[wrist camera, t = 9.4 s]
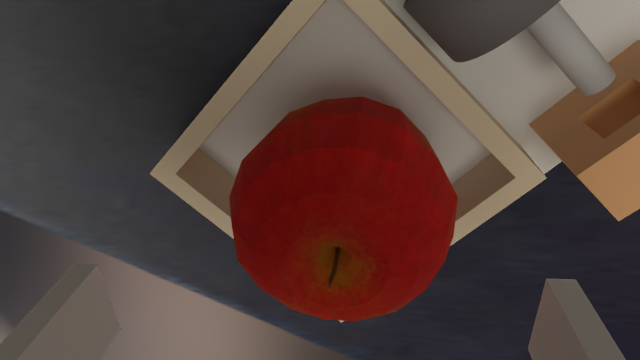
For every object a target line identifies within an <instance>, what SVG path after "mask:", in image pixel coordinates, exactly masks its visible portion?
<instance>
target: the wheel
mask: <svg viewBox="0 0 640 360" xmlns="http://www.w3.org/2000/svg"><path fill="white" fill-rule="evenodd" d="M559 1H561V0H406V1H405V3H404V5H403V8H404V9H405V10H406V11H407V12H408V13H409V14H410V15H411V16H412V17H413V18H414V19H415V20H416V22H417V23H418V24H419V25H420V26H421V27H422V28H423V29H424V30H425V31H426V32H427V33H428V34H429V35H430V37H431V38H432V39H433V40H434V41H435V42H436V43H437V44H438V45H439V46H440V47H441V48H442V49H443V51H444V52H445V53H446V54H447V55H448V56H449V57H450V58H451V59H452V60H453V61H454V62H466V61H470V60H473V59H475V58H478V57H480V56H482V55H484V54H486V53H488V52H490V51H492V50H494V49H496V48H497V47H499V46H501V45H502V44H504V43H505V42H507V41H509V40H510V39H512V38H513V37H515V36H516V35H518V34H519V33H520V32H522V31H523V30H525V29H527V30H528V31H529V33H530V34H531V35H532V36H533V37H534V39H535V40H536V41H537V42H538V43H539V44H540V46H541V47H542V48H543V49H544V50H545V51H546V53H547V54H548V55H549V56H550V57H551V58H552V60H553V61H554V62H555V63H556V64H557V66H558V67H559V68H560V69H561V70H562V71H563V73H564V74H565V75H566V76H567V77H568V78H569V80H570V81H571V82H572V83H573V84H574V85H575V87H576V88H577V89H578V90H579V91H580V93H581V94H582V95H584V96H589V95H593V94H596V93H598V92H600V91H602V90H603V89H605V88H606V87H608V86H609V85H610V84H611V83H612V82H613V80H614V79H615V77H616V72H615V71H614V70H613V69H612V67H611V66H610V65H609V64H608V62H607V61H606V60H605V59H604V57H603V56H602V55H601V54H600V52H599V51H598V50H597V49H596V48H595V46H594V45H593V44H592V43H591V41H590V40H589V39H588V38H587V36H586V35H585V34H584V33H583V31H582V30H581V29H580V28H579V27H578V25H577V24H576V23H575V22H574V20H573V19H572V18H571V17H570V15H569V14H568V13H567V12H566V10H565V9H564V8H563V7H562V6H561V4H560V3H559Z"/></svg>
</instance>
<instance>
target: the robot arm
mask: <svg viewBox="0 0 640 360" xmlns="http://www.w3.org/2000/svg"><path fill="white" fill-rule="evenodd" d="M120 330H121V328H120V325H119V323H118V320H117V317H116V315H115V311H114V309H113V306H112V303H111V301H110V298H109V295H108V292H107V289H106V287H105V284H104V281H103V278H102V276H101V273H100V270H99V267H98V265H96V264H74V265H73V266H72V267H71V268H70V269H69V270H68V271H67V272H66V273H65V274H64V275H63V276H62V278H61V279H60V280H59V281H58V282H57V283H56V284H55V285H54V286H53V287H52V288H51V289H50V291H49V292H48V293H47V294H46V295H45V296H44V297H43V298H42V299H41V300H40V301H39V302H38V304H37V305H36V306H35V307H34V308H33V309H32V310H31V311H30V312H29V313H28V314H27V315H26V317H25V318H24V319H23V320H22V321H21V322H20V323H19V324H18V325H17V326H16V327H15V328H14V330H13V331H12V332H11V333H10V334H9V335H8V336H7V337H6V338H5V339H4V340H3V341H2V343H1V344H0V360H101V359H102V357H103V355H104V354H105V353H106V351H107V350H108V348H109V347H110V345H111V343H112V342H113V340H114V339H115V337H116V336H117V334H118V333H119V331H120ZM528 350H529V353H530V355H531V358H532V360H626V359H625V358H624V356H623V355H622V353H621V351H620V350H619V348H618V347H617V345H616V343H615V342H614V340H613V339H612V337H611V335H610V334H609V332H608V330H607V329H606V327H605V326H604V324H603V322H602V321H601V319H600V318H599V316H598V314H597V313H596V311H595V310H594V308H593V306H592V305H591V303H590V302H589V300H588V298H587V297H586V295H585V294H584V292H583V290H582V289H581V287H580V285H579V284H578V282H577V281H576V280H575V279H546V282H545V286H544V289H543V293H542V297H541V301H540V305H539V308H538V312H537V316H536V320H535V324H534V327H533V331H532V335H531V339H530V342H529V346H528Z"/></svg>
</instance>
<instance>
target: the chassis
mask: <svg viewBox="0 0 640 360" xmlns="http://www.w3.org/2000/svg"><path fill="white" fill-rule="evenodd" d="M405 1H406V0H292V2H291V3H290V4H289V5H288V6H287V8H286V9H285V10H284V11H283V13H282V14H281V15H280V16H279V17H278V19H277V20H276V21H275V22H274V23H273V25H272V26H271V27H270V28H269V30H268V31H267V32H266V33H265V34H264V36H263V37H262V38H261V39H260V40H259V42H258V43H257V44H256V45H255V46H254V48H253V49H252V50H251V51H250V53H249V54H248V55H247V56H246V57H245V59H244V60H243V61H242V62H241V63H240V65H239V66H238V67H237V68H236V69H235V71H234V72H233V73H232V74H231V76H230V77H229V78H228V79H227V80H226V82H225V83H224V84H223V85H222V86H221V88H220V89H219V90H218V91H217V93H216V94H215V95H214V96H213V97H212V99H211V100H210V101H209V102H208V103H207V105H206V106H205V107H204V108H203V109H202V111H201V112H200V113H199V114H198V116H197V117H196V118H195V119H194V120H193V122H192V123H191V124H190V125H189V126H188V128H187V129H186V130H185V131H184V133H183V134H182V135H181V136H180V137H179V139H178V140H177V141H176V142H175V143H174V145H173V146H172V147H171V148H170V149H169V151H168V152H167V153H166V154H165V156H164V157H163V158H162V159H161V160H160V162H159V163H158V164H157V165H156V166H155V168H154V169H153V170H152V171H151V172H150V174H151V175H152V176H153V177H154V178H156V179H157V180H158V181H160V182H161V183H162V184H163V185H165V186H166V187H167V188H169V189H170V190H171V191H172V192H174V193H175V194H176V195H178V196H179V197H180V198H181V199H183V200H184V201H185V202H187V203H188V204H189V205H190V206H192V207H193V208H194V209H196V210H197V211H198V212H199V213H201V214H202V215H203V216H205V217H206V218H207V219H209V220H210V221H211V222H212V223H214V224H215V225H216V226H218V227H219V228H220V229H221V230H223V231H224V232H225V233H227V234H228V235H229V236H230V237H232V238H233V239H234V236H233V230H232V223H231V212H230V201H229V196H230V193H231V190H232V187H233V184H234V182H235V179H236V176H237V173H238V170H239V167H240V164H241V161H242V160H243V159H244V158H245V157H246V156H247V154H248V153H249V152H250V151H251V150H252V149H253V148H254V147H255V146H256V145H257V144H258V143H259V142H260V141H261V140H262V139H263V138H264V137H265V136H266V135H267V134H268V133H269V132H270V131H271V130H272V129H273V128H274V127H275V126H276V125H277V124H278V123H279V122H280V121H281V120H282V119H283V118H284V117H285V116H286V115H287V114H288V113H289V112H291V111H294V110H297V109H300V108H302V107H305V106H308V105H310V104H313V103H316V102H319V101H321V100H324V99H337V98H350V97H362V96H363V97H366V98H369V99H372V100H374V101H377V102H380V103H383V104H386V105H389V106H392V107H394V108H397V109H400V110H401V111H402V112H403V113H404V114H405V115H406V116H407V117H408V118H409V119H410V120H411V122H412V123H413V124H414V125H415V126H416V127H417V128H418V129H419V130H420V131H421V132H422V133H423V134H424V135H425V136H426V138H427V140H428V141H429V143H430V145H431V147H432V148H433V150H434V152H435V154H436V155H437V157H438V159H439V161H440V163H441V165H442V167H443V169H444V171H445V173H446V175H447V177H448V179H449V181H450V183H451V185H452V186H453V188H454V190H455V192H456V194H457V196H458V203H457V211H456V220H455V228H454V236H453V239H452V242H451V245H453V244H454V243H455V242H457V241H458V240H460V239H461V238H463V237H464V236H465V235H467V234H468V233H470V232H471V231H472V230H474V229H475V228H477V227H478V226H480V225H481V224H482V223H484V222H485V221H487V220H488V219H490V218H491V217H492V216H494V215H495V214H497V213H498V212H499V211H501V210H502V209H504V208H505V207H507V206H508V205H509V204H511V203H512V202H514V201H515V200H516V199H518V198H519V197H521V196H522V195H524V194H525V193H526V192H528V191H529V190H531V189H532V188H534V187H535V186H536V185H538V184H539V183H541V182H542V181H543V180H545V179H546V176H545V175H544V174H545V173H546V172H548V171H549V170H550V169H552V168H553V167H555V166H556V165H557V164H559V163H560V162H562V161H563V163H564V164H565V165H566V166H567V167H568V168H569V169H570V170H571V171H572V172H573V173H574V174H575V175H576V176H577V177H578V179H579V180H580V181H581V182H582V183H583V184H584V185H585V186H586V187H587V188H588V189H589V190H590V191H591V192H592V194H593V195H594V196H595V197H596V198H597V199H598V200H599V201H600V202H601V203H602V204H603V205H604V206H605V207H606V209H607V210H608V211H609V212H610V213H611V214H612V215H613V216H614V217H615V218H616V219H617V220H618V221H620V220H622V219H623V218H625V217H626V216H628V215H630V214H631V213H633V212H635V211H636V210H638V209H640V0H561V1H559V3H560V4H561V6H562V7H563V8H564V9H565V10H566V12H567V13H568V14H569V15H570V17H571V18H572V19H573V20H574V22H575V23H576V24H577V25H578V27H579V28H580V29H581V30H582V31H583V33H584V34H585V35H586V36H587V38H588V39H589V40H590V41H591V43H592V44H593V45H594V46H595V48H596V49H597V50H598V51H599V52H600V54H601V55H602V56H603V57H604V59H605V60H606V61H607V62H608V64H609V65H610V66H611V67H612V69H613V70H614V71H615V72H616V77H615V79H614V80H613V82H612V83H611V84H610V85H609V86H608V87H606V88H605V89H603V90H602V91H600V92H598V93H596V94H593V95H589V96H584V95H582V94H581V93H580V91H579V90H578V89H577V88H576V87H575V85H574V84H573V83H572V82H571V81H570V80H569V78H568V77H567V76H566V75H565V74H564V73H563V71H562V70H561V69H560V68H559V67H558V66H557V64H556V63H555V62H554V61H553V60H552V58H551V57H550V56H549V55H548V54H547V53H546V51H545V50H544V49H543V48H542V47H541V46H540V44H539V43H538V42H537V41H536V40H535V39H534V37H533V36H532V35H531V34H530V33H529V31H528V30H527V29H525V30H523V31H522V32H520V33H519V34H518V35H516V36H515V37H513V38H512V39H510V40H509V41H507V42H505V43H504V44H502V45H501V46H499V47H497V48H496V49H494V50H492V51H490V52H488V53H486V54H484V55H482V56H480V57H478V58H475V59H473V60H470V61H466V62H454V61H453V60H452V59H451V58H450V57H449V56H448V55H447V54H446V53H445V52H444V51H443V49H442V48H441V47H440V46H439V45H438V44H437V43H436V42H435V41H434V40H433V39H432V38H431V37H430V35H429V34H428V33H427V32H426V31H425V30H424V29H423V28H422V27H421V26H420V25H419V24H418V23H417V22H416V20H415V19H414V18H413V17H412V16H411V15H410V14H409V13H408V12H407V11H406V10H405V9H404V8H403V5H404V3H405ZM451 245H450V246H451ZM339 321H340V322H341V323H342V322H343V321H342V320H339Z"/></svg>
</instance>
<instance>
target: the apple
mask: <svg viewBox="0 0 640 360" xmlns="http://www.w3.org/2000/svg"><path fill="white" fill-rule="evenodd" d="M229 201H230V212H231V223H232V230H233V236H234V241H235V246H236V252H237V257H238V261H239V262H240V263H241V265H242V266H243V267H244V269H245V270H246V271H247V272H248V274H249V275H250V276H251V277H252V279H253V280H254V281H255V283H256V284H257V285H258V286H259V288H261V289H262V290H264V291H265V292H267V293H268V294H270V295H271V296H273V297H274V298H276V299H277V300H279V301H280V302H282V303H283V304H285V305H286V306H288V307H289V308H291V309H294V310H296V311H298V312H302V313H305V314H309V315H312V316H316V317H319V318H323V319H329V320H342V321H358V320H363V319H368V318H372V317H377V316H381V315H385V314H388V313H392V312H395V311H397V310H399V309H400V308H402V307H403V306H404V305H406V304H407V303H409V302H410V301H411V300H413V299H414V298H416V297H417V296H418V295H420V294H421V293H423V292H424V291H425V290H426V289H427V287H428V286H429V284H430V283H431V281H432V280H433V278H434V277H435V275H436V274H437V272H438V271H439V269H440V268H441V266H442V265H443V263H444V261H445V259H446V256H447V253H448V250H449V247H450V245H451V242H452V239H453V236H454V228H455V220H456V211H457V203H458V196H457V194H456V192H455V190H454V188H453V186H452V185H451V183H450V181H449V179H448V177H447V175H446V173H445V171H444V169H443V167H442V165H441V163H440V161H439V159H438V157H437V155H436V154H435V152H434V150H433V148H432V147H431V145H430V143H429V141H428V140H427V138H426V136H425V135H424V134H423V133H422V132H421V131H420V130H419V129H418V128H417V127H416V126H415V125H414V124H413V123H412V122H411V120H410V119H409V118H408V117H407V116H406V115H405V114H404V113H403V112H402V111H401V110H400V109H397V108H394V107H392V106H389V105H386V104H383V103H380V102H377V101H374V100H372V99H369V98H366V97H363V96H362V97H350V98H337V99H324V100H321V101H319V102H316V103H313V104H310V105H308V106H305V107H302V108H300V109H297V110H294V111H291V112H289V113H288V114H287V115H286V116H285V117H284V118H283V119H282V120H281V121H280V122H279V123H278V124H277V125H276V126H275V127H274V128H273V129H272V130H271V131H270V132H269V133H268V134H267V135H266V136H265V137H264V138H263V139H262V140H261V141H260V142H259V143H258V144H257V145H256V146H255V147H254V148H253V149H252V150H251V151H250V152H249V153H248V154H247V156H246V157H245V158H244V159H243V160H242V161H241V164H240V167H239V170H238V173H237V176H236V179H235V182H234V184H233V187H232V190H231V193H230V196H229Z"/></svg>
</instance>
